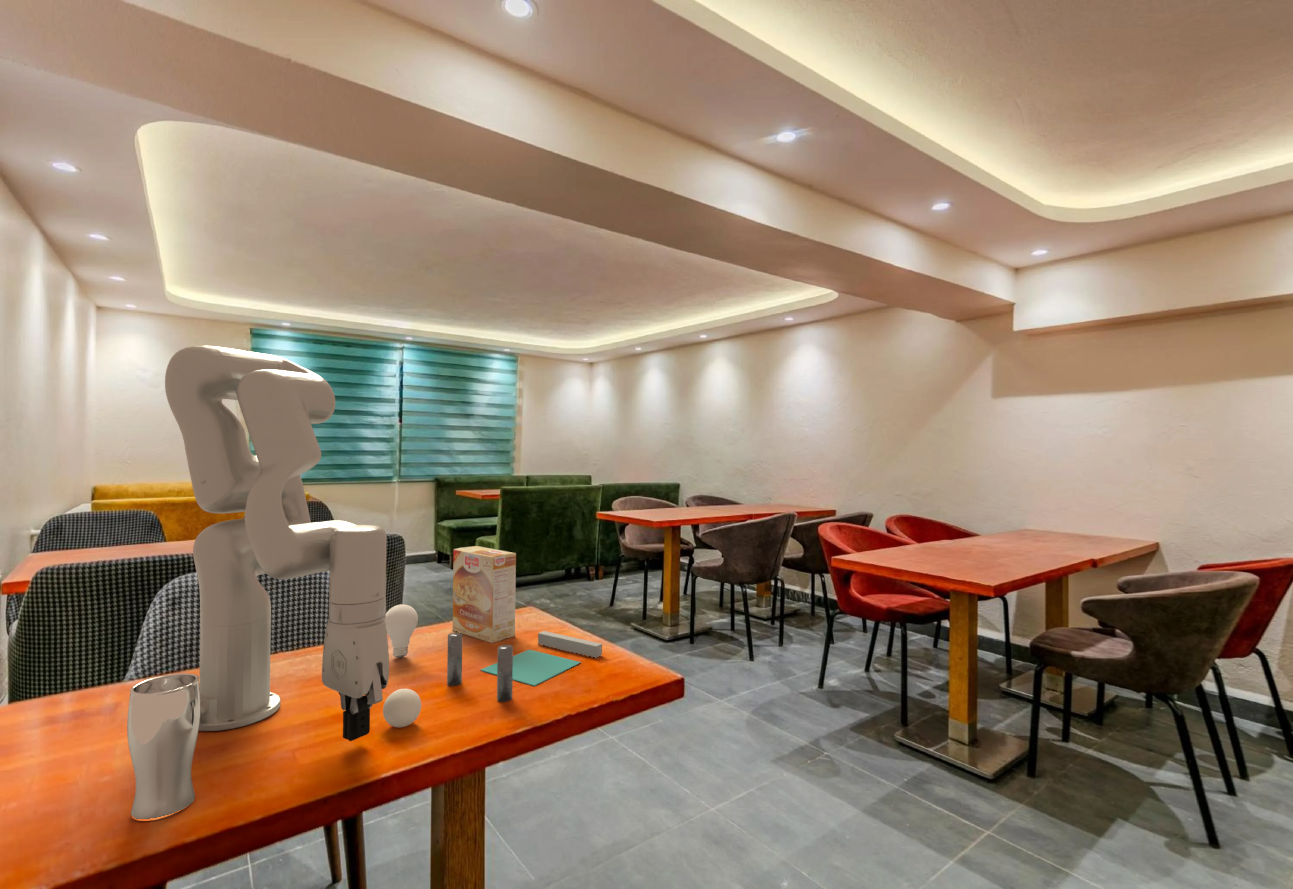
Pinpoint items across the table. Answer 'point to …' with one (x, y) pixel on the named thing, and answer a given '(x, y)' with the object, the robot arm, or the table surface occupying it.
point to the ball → (402, 708)
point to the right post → (504, 673)
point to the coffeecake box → (484, 593)
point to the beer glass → (163, 742)
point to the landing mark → (535, 667)
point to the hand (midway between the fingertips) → (356, 735)
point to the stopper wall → (570, 644)
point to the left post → (454, 659)
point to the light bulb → (400, 627)
